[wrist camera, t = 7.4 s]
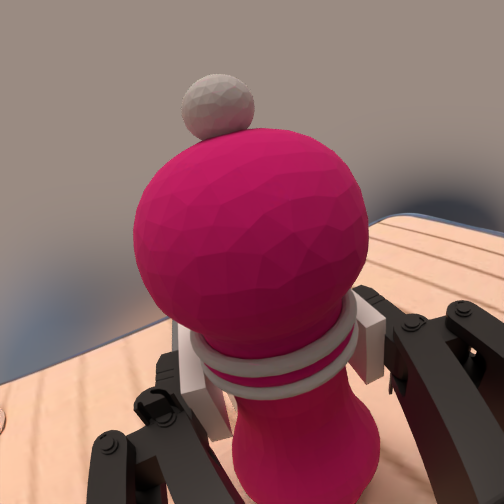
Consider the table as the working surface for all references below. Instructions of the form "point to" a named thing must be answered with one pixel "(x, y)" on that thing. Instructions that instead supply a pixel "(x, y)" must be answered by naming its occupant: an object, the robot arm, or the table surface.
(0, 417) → the can
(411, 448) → the table surface
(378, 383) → the table surface
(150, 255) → the pepper mill
